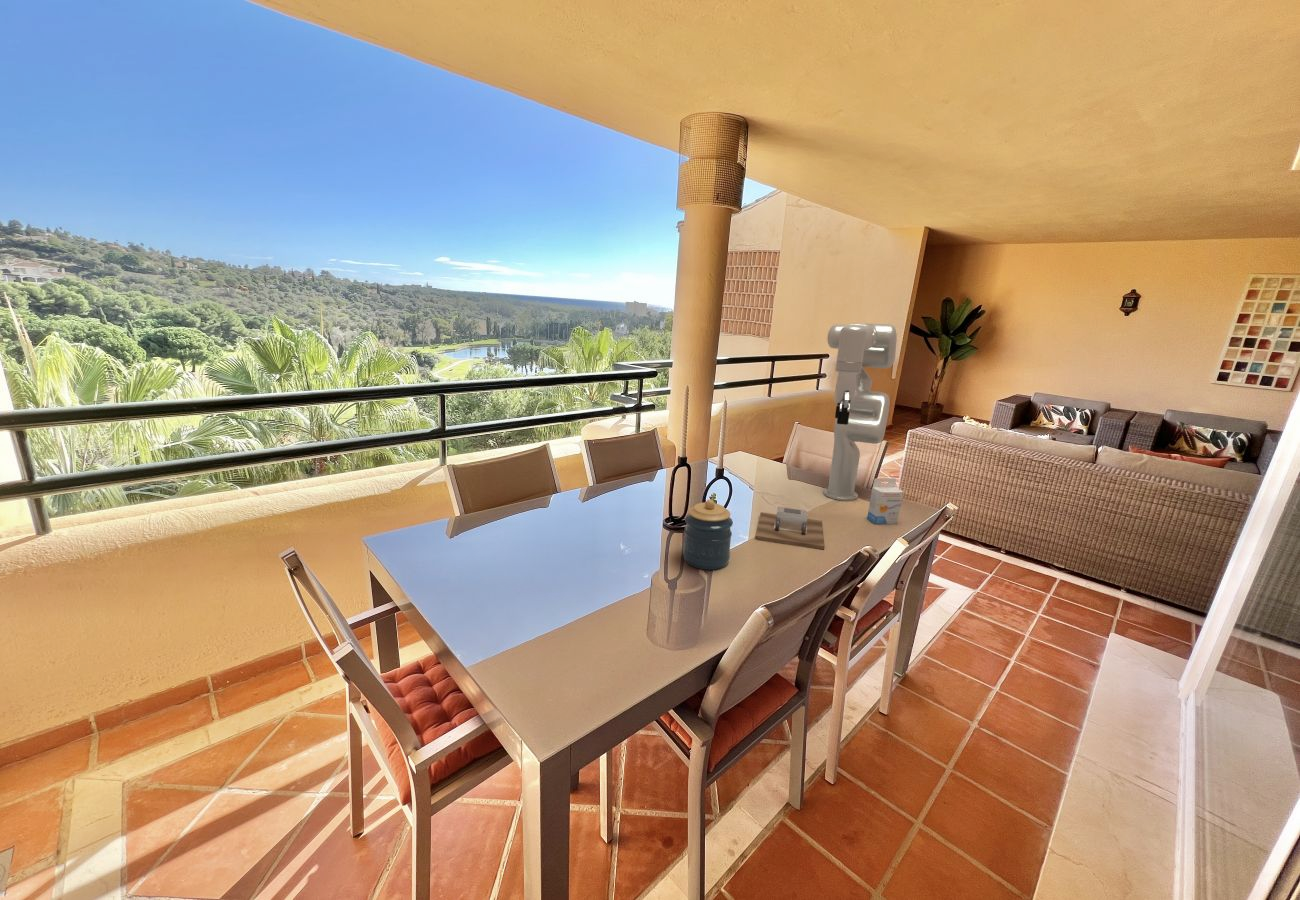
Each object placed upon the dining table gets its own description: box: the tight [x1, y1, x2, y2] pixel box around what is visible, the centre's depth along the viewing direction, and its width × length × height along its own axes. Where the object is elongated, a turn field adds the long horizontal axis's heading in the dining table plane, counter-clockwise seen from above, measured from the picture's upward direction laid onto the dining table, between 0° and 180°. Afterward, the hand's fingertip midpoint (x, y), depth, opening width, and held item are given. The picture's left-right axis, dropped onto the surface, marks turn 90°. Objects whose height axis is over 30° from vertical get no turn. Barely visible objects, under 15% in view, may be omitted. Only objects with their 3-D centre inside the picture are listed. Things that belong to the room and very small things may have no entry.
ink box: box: [867, 477, 904, 525], centre depth 168 cm, size 8×5×15 cm, turn 98°
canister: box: [682, 499, 734, 571], centre depth 137 cm, size 13×13×18 cm
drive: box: [776, 506, 808, 532], centre depth 158 cm, size 4×9×6 cm, turn 73°
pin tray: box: [755, 512, 826, 550], centre depth 159 cm, size 20×20×4 cm
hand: (841, 421), depth 160 cm, fingers open, 9 cm apart
